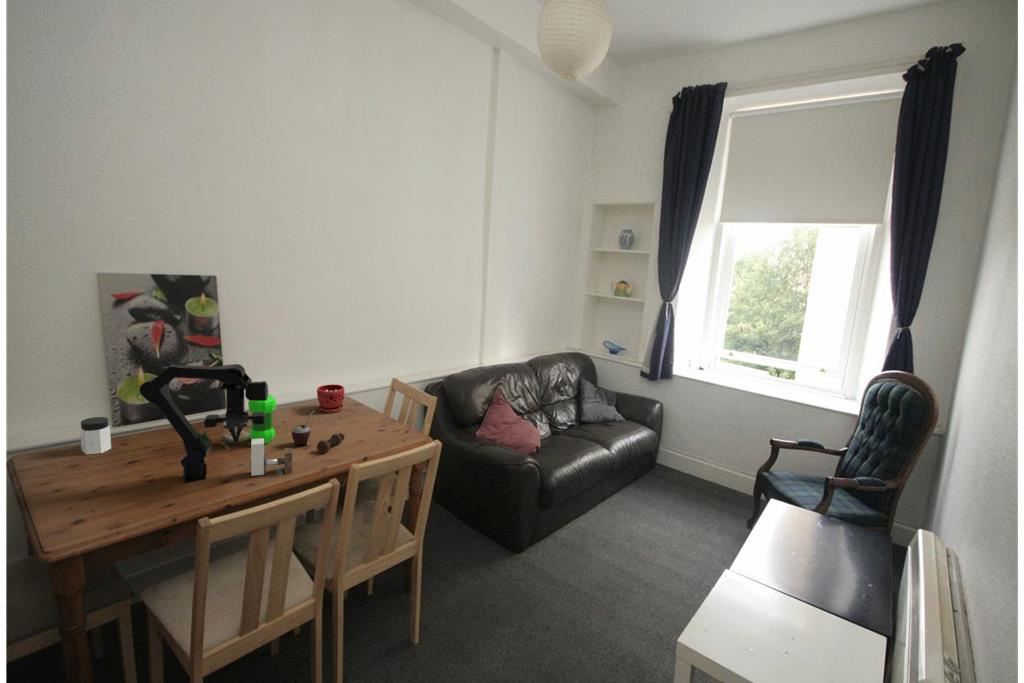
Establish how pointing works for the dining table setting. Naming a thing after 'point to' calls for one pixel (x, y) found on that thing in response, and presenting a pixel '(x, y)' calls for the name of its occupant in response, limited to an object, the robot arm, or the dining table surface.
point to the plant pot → (330, 397)
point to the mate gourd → (301, 434)
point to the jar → (95, 435)
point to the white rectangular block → (258, 457)
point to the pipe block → (286, 462)
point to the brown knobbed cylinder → (330, 443)
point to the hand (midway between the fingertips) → (236, 442)
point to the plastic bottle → (266, 428)
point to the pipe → (274, 461)
